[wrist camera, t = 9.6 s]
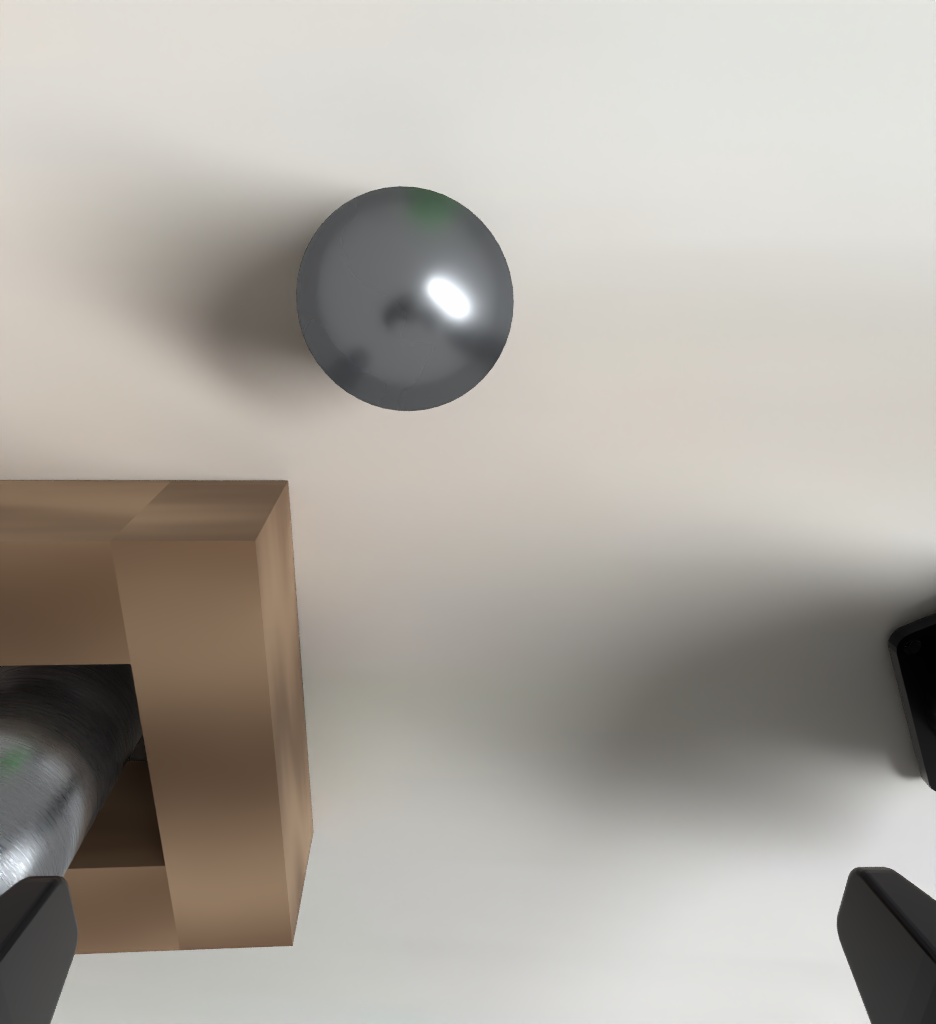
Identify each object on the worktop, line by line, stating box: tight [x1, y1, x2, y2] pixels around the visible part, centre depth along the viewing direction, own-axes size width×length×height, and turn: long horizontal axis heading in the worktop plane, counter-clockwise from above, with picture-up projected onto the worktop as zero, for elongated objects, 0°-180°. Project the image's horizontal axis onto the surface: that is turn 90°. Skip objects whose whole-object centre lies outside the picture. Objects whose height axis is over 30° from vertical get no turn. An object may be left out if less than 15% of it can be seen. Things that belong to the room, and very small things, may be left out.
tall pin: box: [0, 664, 143, 895], centre depth 17 cm, size 4×4×8 cm
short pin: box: [296, 186, 514, 411], centre depth 15 cm, size 4×4×4 cm
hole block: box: [0, 480, 313, 954], centre depth 19 cm, size 12×12×4 cm
